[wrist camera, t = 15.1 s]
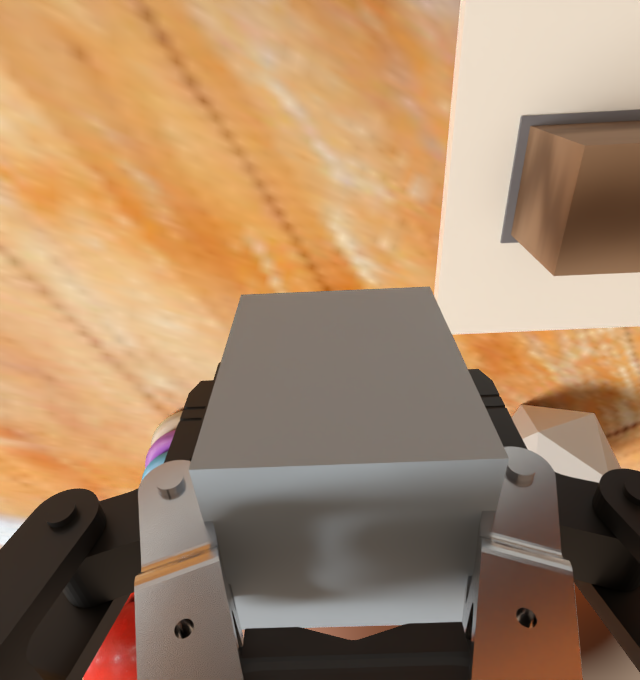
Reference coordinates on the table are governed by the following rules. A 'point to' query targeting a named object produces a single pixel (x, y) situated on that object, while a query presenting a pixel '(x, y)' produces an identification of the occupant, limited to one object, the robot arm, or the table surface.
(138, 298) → the table surface
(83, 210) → the table surface
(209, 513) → the slate block
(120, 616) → the stacking toy
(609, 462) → the die
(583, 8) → the cream board
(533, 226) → the walnut block
